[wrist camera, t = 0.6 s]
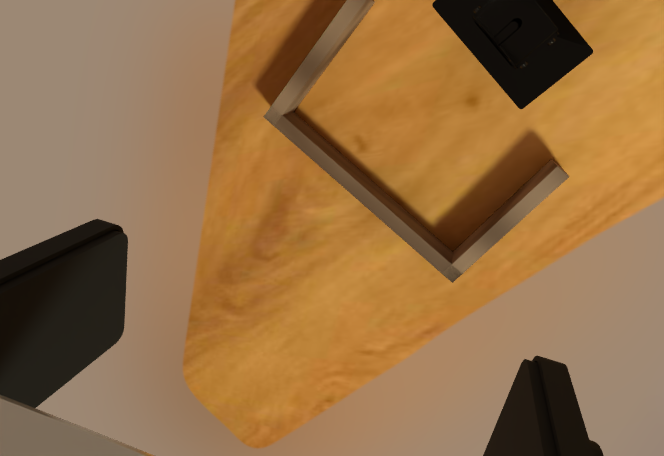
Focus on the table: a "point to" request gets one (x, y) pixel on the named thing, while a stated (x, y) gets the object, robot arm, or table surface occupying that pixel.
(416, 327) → the table surface
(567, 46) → the build plate
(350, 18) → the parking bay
